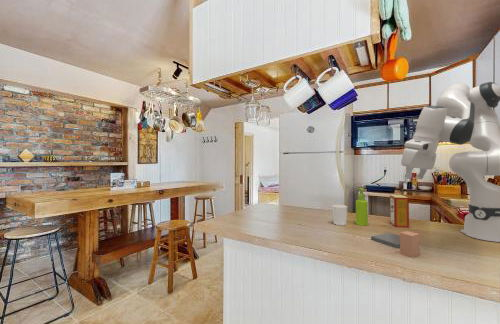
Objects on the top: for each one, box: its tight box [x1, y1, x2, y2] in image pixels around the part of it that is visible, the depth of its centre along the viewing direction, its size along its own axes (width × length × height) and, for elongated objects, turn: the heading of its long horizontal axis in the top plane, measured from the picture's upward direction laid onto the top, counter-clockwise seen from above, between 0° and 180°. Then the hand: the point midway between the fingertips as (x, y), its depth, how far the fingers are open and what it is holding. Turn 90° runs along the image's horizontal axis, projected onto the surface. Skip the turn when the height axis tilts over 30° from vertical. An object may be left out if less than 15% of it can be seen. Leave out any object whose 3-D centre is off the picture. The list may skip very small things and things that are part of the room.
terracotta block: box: [399, 230, 421, 258], centre depth 91 cm, size 4×4×8 cm
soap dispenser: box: [355, 187, 369, 227], centre depth 134 cm, size 6×7×20 cm
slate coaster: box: [370, 232, 400, 249], centre depth 106 cm, size 12×12×2 cm
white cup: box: [331, 204, 348, 226], centre depth 135 cm, size 8×8×10 cm
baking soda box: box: [389, 194, 410, 229], centre depth 131 cm, size 10×6×16 cm
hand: (414, 178), depth 100 cm, fingers open, 8 cm apart
